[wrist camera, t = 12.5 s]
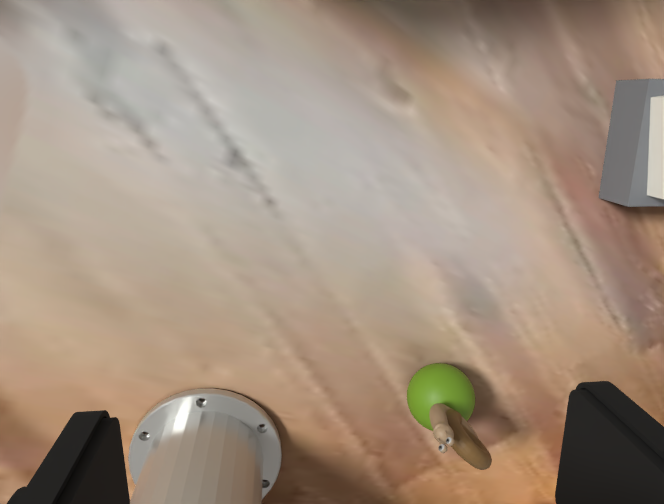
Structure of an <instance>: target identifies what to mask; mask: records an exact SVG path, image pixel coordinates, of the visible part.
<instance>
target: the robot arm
mask: <svg viewBox="0 0 664 504" xmlns="http://www.w3.org/2000/svg"><path fill="white" fill-rule="evenodd" d="M201 398H204V399H201ZM281 457H282V452H281V441H280V437H279V433H278V430H277V428H276V426H275V425H274V423H273V421H272V419H271V418H270V417H269V416H268V414H267V413H266V412H265V411H264V410H263V409H262V408H261V407H260V406H258V405H257V404H256V403H255V402H253V401H251V400H250V399H248V398H246V397H244V396H242V395H240V394H237V393H234V392H231V391H227V390H221V389H214V388H205V389H194V390H188V391H183V392H181V393H178V394H175V395H172V396H170V397H168V398H166V399H165V400H163V401H161V402H159V403H158V404H157V405H155V406H154V407H153V408H152V409H151V410H150V411H149V412H147V414H146V415H145V416H144V418H143V419H142V420H141V421H140V423H139V425H138V427H137V429H136V431H135V433H134V435H133V438H132V441H131V444H130V447H129V457H128V461H129V468H130V473H131V476H132V478H133V481H134V483H135V485H136V486H135V489H134V492H133V495H132V497H131V500H130V499H129V492H128V484H127V477H126V469H125V462H124V454H123V447H122V439H121V432H120V424H119V420H118V418H116V417H114V418H110V416H109V414H108V412H107V411H106V410H104V411H87V412H76V413H74V414H73V415H72V417H71V418H70V420H69V422H68V423H67V425H66V426H65V428H64V429H63V431H62V432H61V434H60V436H59V437H58V439H57V440H56V442H55V443H54V445H53V446H52V448H51V450H50V451H49V453H48V454H47V456H46V457H45V459H44V461H43V462H42V464H41V465H40V467H39V468H38V470H37V471H36V473H35V475H34V476H33V478H32V479H31V481H30V482H29V484H28V486H27V487H22V488H20V489H18V490H17V491H16V492H15V493H14V494H13V496H12V497H11V498H10V500H9V501H8V503H7V504H262V499H263V498H264V497H265V496H266V495H267V493H268V492H269V491H270V490H271V488H272V487H273V485H274V483H275V481H276V479H277V477H278V474H279V471H280V467H281ZM555 498H556V504H664V427H663V426H662V425H661V424H660V423H658V422H657V421H656V420H655V419H654V418H652V417H651V416H650V415H649V414H648V413H647V412H645V411H644V410H643V409H642V408H641V407H639V406H638V405H637V404H636V403H635V402H633V401H632V400H631V399H630V398H629V397H628V396H626V395H625V394H624V393H623V392H622V391H620V390H619V389H618V388H617V387H616V386H614V385H613V384H612V383H610V382H609V381H599V382H582V383H580V384H578V386H577V387H576V390H573V391H571V393H570V395H569V401H568V408H567V415H566V422H565V429H564V436H563V443H562V450H561V457H560V464H559V471H558V478H557V485H556V492H555Z"/></svg>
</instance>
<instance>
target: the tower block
mask: <svg viewBox="0 0 664 504" xmlns="http://www.w3.org/2000/svg"><path fill="white" fill-rule="evenodd" d="M647 195H649V196H652V197H656V198H660V199H664V95H663V96H656V97H651V104H650V129H649V155H648V181H647Z"/></svg>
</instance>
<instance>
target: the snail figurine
mask: <svg viewBox="0 0 664 504" xmlns="http://www.w3.org/2000/svg"><path fill="white" fill-rule="evenodd" d="M407 402H408V406H409V409H410V411H411V413H412V415H413V416H414V418H415V419H416V420H417V421H418V422H419V423H420V424H421V425H422V426H424V427H425V428H427V429H429V430H432V431H433V434H434V437H435V439H436V440H437V441H438V442H439V443H440V446H439V451H440V452H441V453H445V452H446V451H447V446H446V445H445V444H447V445H449V446H451V447H452V448H453V449H454V450H455V451H456V452H457V454H458V455H459V456H460V457H462V458H463V459H464V460H465V461H466V462H468V463H469V464H470V465H472V466H473V467H475V468H477V469H480V470H485V469H487V468H489V467H490V465H491V462H492V459H491V455H490V453H489V451H488V450H487V449H486V447H485V446H484V445H483V444H482V442H481V441H480V440H479V439H478V437H477V435H476V433H475V431H474V430H473V428H472V427H471V426H470V424H469V423H468V422H467V421H468V420H469V418H470V417H471V415H472V412H473V410H474V405H475V394H474V390H473V387H472V384H471V382H470V381H469V379H468V378H467V376H466V375H465V374H464V373H463V372H462V371H460V370H459V369H457V368H456V367H454V366H451V365H448V364H443V363H435V364H430V365H427V366H425V367H423V368H421V369H420V370H419V371H418V372H417V373H416V374H415V375H414V376H413V377H412V379H411V381H410V383H409V386H408V390H407ZM441 443H442V444H441Z"/></svg>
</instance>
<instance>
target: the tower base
mask: <svg viewBox="0 0 664 504" xmlns="http://www.w3.org/2000/svg"><path fill="white" fill-rule="evenodd" d="M663 95H664V79H638V80H619V81H616V86H615V93H614V99H613V106H612V113H611V119H610V126H609V132H608V139H607V146H606V152H605V159H604V165H603V172H602V179H601V185H600V192H599V198H601V199H604V200H607V201H611V202H614V203H617V204H621V205H624V206H627V207H638V206H664V199H660V198H656V197H652V196H649V195H647V181H648V155H649V129H650V104H651V97H656V96H663Z"/></svg>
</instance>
